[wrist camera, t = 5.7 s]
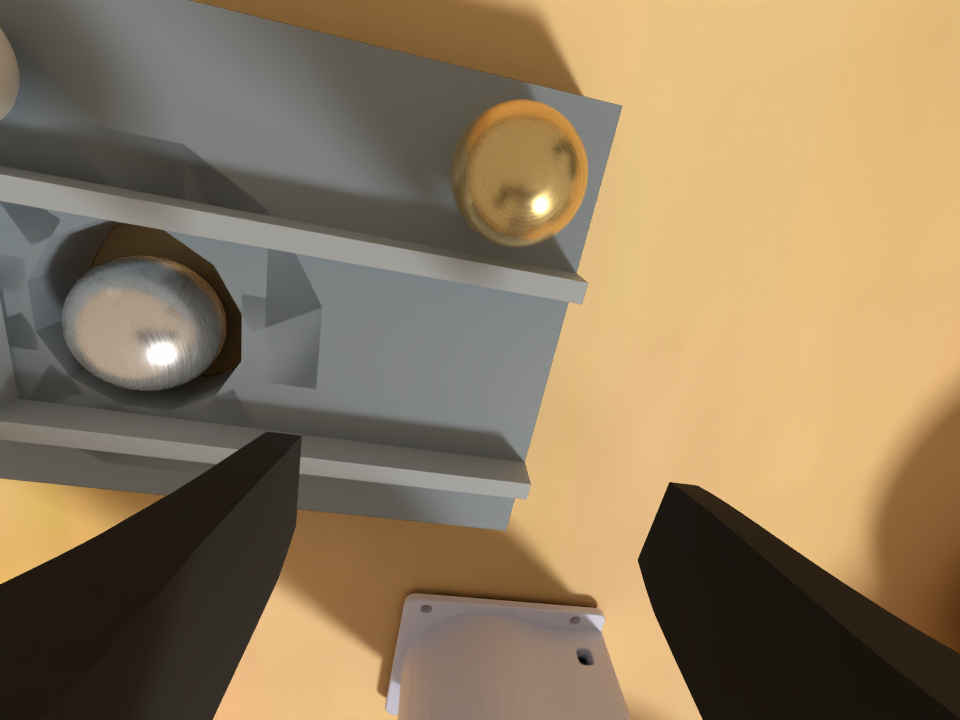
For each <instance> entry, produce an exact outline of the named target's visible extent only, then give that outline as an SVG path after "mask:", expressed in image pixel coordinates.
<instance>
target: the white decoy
mask: <svg viewBox="0 0 960 720" xmlns="http://www.w3.org/2000/svg"><path fill="white" fill-rule="evenodd" d="M19 85H20V76H19V68H18V63H17V60H16V57H15V54H14V51H13V49H12V47H11V44H10V43H9V41H8V39H7V37H6V35H5V34H4V32H3V30H2V29H1V27H0V120H1V119H3V118H4V117H5V116H6V115H7V114H8V113H9V111H10V110H11V109H12V107H13V105H14V103H15V101H16V98H17V96H18V91H19Z"/></svg>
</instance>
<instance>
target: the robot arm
mask: <svg viewBox="0 0 960 720" xmlns="http://www.w3.org/2000/svg"><path fill="white" fill-rule="evenodd" d="M301 442H302V436H300V435H292V434H284V433H276V432H268V431H267V432H265V433H264V434H262V435H260V436H259V437H257V438H256V439H254V440H253V441H251V442H250V443H248V444H247V445H245V446H244V447H242V448H240V449H239V450H237V451H236V452H234V453H233V454H231V455H230V456H228V457H227V458H225V459H224V460H222V461H221V462H219V463H218V464H216V465H215V466H213V467H212V468H210V469H209V470H207V471H206V472H204V473H202V474H201V475H199V476H198V477H196V478H195V479H193V480H191V481H190V482H188V483H187V484H185V485H183V486H182V487H180V488H179V489H177V490H176V491H174V492H172V493H171V494H169V495H167V496H166V497H164V498H162V499H160V500H159V501H157V502H155V503H153V504H152V505H150V506H148V507H147V508H145V509H143V510H141V511H140V512H138V513H136V514H134V515H133V516H131V517H129V518H128V519H126V520H124V521H122V522H121V523H119V524H117V525H115V526H114V527H112V528H110V529H108V530H107V531H105V532H103V533H101V534H99V535H98V536H96V537H94V538H92V539H90V540H88V541H86V542H85V543H83V544H81V545H79V546H77V547H75V548H73V549H71V550H69V551H67V552H65V553H63V554H61V555H59V556H58V557H55V558H53V559H51V560H49V561H47V562H45V563H43V564H41V565H39V566H37V567H35V568H33V569H31V570H29V571H27V572H25V573H23V574H21V575H19V576H17V577H15V578H13V579H11V580H8V581H6V582H4V583H2V584H0V720H213V718H214V715H215V713H216V711H217V709H218V707H219V705H220V703H221V700H222V698H223V696H224V694H225V692H226V690H227V688H228V686H229V683H230V681H231V679H232V677H233V675H234V673H235V671H236V668H237V666H238V664H239V662H240V660H241V658H242V656H243V654H244V651H245V649H246V647H247V645H248V643H249V641H250V639H251V636H252V634H253V632H254V630H255V628H256V626H257V624H258V621H259V619H260V617H261V615H262V613H263V611H264V608H265V606H266V604H267V602H268V600H269V598H270V596H271V593H272V591H273V589H274V587H275V585H276V582H277V580H278V578H279V575H280V572H281V569H282V566H283V563H284V560H285V557H286V554H287V551H288V548H289V545H290V542H291V539H292V536H293V533H294V530H295V527H296V516H297V501H298V487H299V472H300V457H301ZM638 563H639V566H640V570H641V573H642V576H643V580H644V583H645V587H646V590H647V593H648V596H649V599H650V602H651V605H652V608H653V611H654V613H655V616H656V618H657V620H658V623H659V625H660V627H661V629H662V632H663V634H664V636H665V638H666V640H667V643H668V645H669V647H670V649H671V652H672V654H673V656H674V658H675V660H676V663H677V665H678V667H679V669H680V671H681V673H682V676H683V678H684V680H685V682H686V684H687V686H688V689H689V691H690V693H691V695H692V697H693V699H694V702H695V704H696V706H697V708H698V710H699V713H700V715H701V717H702V719H703V720H960V654H958V653H957V652H955V651H953V650H951V649H950V648H948V647H946V646H945V645H943V644H941V643H939V642H938V641H936V640H934V639H933V638H931V637H929V636H927V635H926V634H924V633H922V632H921V631H919V630H917V629H915V628H914V627H912V626H911V625H909V624H907V623H906V622H904V621H902V620H901V619H899V618H897V617H896V616H894V615H893V614H891V613H889V612H888V611H886V610H885V609H883V608H882V607H880V606H878V605H877V604H875V603H874V602H872V601H871V600H869V599H868V598H866V597H864V596H863V595H861V594H860V593H858V592H857V591H855V590H854V589H852V588H851V587H849V586H847V585H846V584H844V583H843V582H841V581H840V580H838V579H837V578H835V577H834V576H832V575H831V574H829V573H828V572H826V571H825V570H823V569H822V568H820V567H819V566H817V565H816V564H814V563H813V562H812V561H810V560H809V559H807V558H806V557H804V556H803V555H801V554H800V553H798V552H797V551H796V550H794V549H793V548H791V547H790V546H788V545H787V544H785V543H784V542H783V541H781V540H780V539H778V538H777V537H775V536H774V535H772V534H771V533H770V532H768V531H767V530H765V529H764V528H762V527H761V526H759V525H758V524H757V523H755V522H754V521H752V520H751V519H749V518H748V517H746V516H745V515H743V514H742V513H741V512H739V511H738V510H736V509H735V508H733V507H732V506H730V505H729V504H727V503H726V502H724V501H722V500H721V499H719V498H718V497H716V496H714V495H713V494H711V493H710V492H708V491H706V490H704V489H702V488H701V487H699V486H696V485H688V484H680V483H672V482H669V485H668V487H667V490H666V492H665V495H664V497H663V499H662V502H661V504H660V507H659V509H658V512H657V514H656V517H655V519H654V521H653V524H652V526H651V529H650V531H649V534H648V536H647V539H646V541H645V543H644V546H643V548H642V551H641V553H640V556H639V558H638ZM425 605H427V606H425ZM604 623H605V617H604V614H603V612H602V610H600V609H598V608H590V607H578V606H566V605H554V604H542V603H529V602H517V601H505V600H493V599H481V598H469V597H456V596H444V595H432V594H420V593H413V594H410V595H408V596H407V597H406V598H405V601H404V606H403V611H402V617H401V622H400V627H399V633H398V638H397V643H396V649H395V654H394V660H393V665H392V670H391V676H390V681H389V686H388V692H387V697H386V704H385V710H386V711H387V712H388V713H389V714H393V715H398V720H631V718H630V715H629V712H628V709H627V706H626V703H625V700H624V697H623V694H622V692H621V689H620V686H619V683H618V680H617V677H616V674H615V671H614V668H613V665H612V662H611V659H610V656H609V653H608V650H607V647H606V644H605V642H604V639H603V636H602V633H601V630H602V628H603V625H604Z"/></svg>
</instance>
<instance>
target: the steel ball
mask: <svg viewBox="0 0 960 720" xmlns="http://www.w3.org/2000/svg"><path fill="white" fill-rule="evenodd" d="M61 321H62V331H63V335H64V338H65V341H66V344H67V346H68V348H69V350H70V351H71V353H72V354H73V356H74V357H75V358H76V360H77V361H78V362H79V363H80V364H81V365H82V366H83V367H84V368H85V369H87V370H88V371H89V372H90V373H92V374H93V375H95V376H96V377H98V378H100V379H102V380H104V381H106V382H108V383H110V384H113V385H116V386H119V387H122V388H127V389H132V390H143V391H153V390H163V389H168V388H172V387H176V386H179V385H182V384H184V383H187V382H189V381H191V380H192V379H194V378H196V377H198V376H199V375H200V374H202V373H203V372H204V371H206V370H207V369H208V368H209V367H210V366H211V365H212V363H213V362H214V361H215V359H216V358H217V357H218V355H219V353H220V351H221V349H222V347H223V344H224V341H225V337H226V330H227V323H226V315H225V311H224V308H223V305H222V303H221V301H220V299H219V297H218V295H217V294H216V292H215V291H214V289H213V288H212V287H211V286H210V284H209V283H208V282H207V281H205V280H204V279H203V278H202V277H201V276H200V275H198V274H197V273H196V272H194V271H192V270H191V269H189V268H187V267H186V266H183V265H181V264H179V263H177V262H174V261H171V260H168V259H163V258H158V257H153V256H128V257H122V258H117V259H114V260H111V261H108V262H105V263H103V264H101V265H98V266H96V267H94V268H93V269H91V270H90V271H88V272H87V273H86V274H85V275H84V276H82V277H81V278H80V279H79V280H78V281H77V282H76V283H75V285H74V286H73V287H72V288H71V290H70V292H69V294H68V296H67V297H66V300H65V303H64V306H63V310H62V318H61Z"/></svg>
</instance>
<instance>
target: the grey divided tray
mask: <svg viewBox="0 0 960 720" xmlns="http://www.w3.org/2000/svg"><path fill="white" fill-rule="evenodd" d="M0 27H1V29H2V30H3V32H4V34H5V35H6V37H7V39H8V41H9V43H10V44H11V47H12V49H13V51H14V54H15V57H16V60H17V63H18V68H19V76H20V85H19V91H18V96H17V98H16V101H15V103H14V105H13V107H12V109H11V110H10V111H9V113H8V114H7V115H6V116H5V117H4V118H3V119H1V120H0V478H2V479H12V480H21V481H31V482H41V483H50V484H60V485H70V486H79V487H89V488H99V489H108V490H118V491H127V492H137V493H147V494H156V495H166V496H167V495H169V494H171V493H172V492H174V491H176V490H177V489H179V488H180V487H182V486H183V485H185V484H187V483H188V482H190V481H191V480H193V479H195V478H196V477H198V476H199V475H201V474H202V473H204V472H206V471H207V470H209V469H210V468H212V467H213V466H215V465H216V464H218V463H219V462H221V461H222V460H224V459H225V458H227V457H228V456H230V455H231V454H233V453H234V452H236V451H237V450H239V449H240V448H242V447H244V446H245V445H247V444H248V443H250V442H251V441H253V440H254V439H256V438H257V437H259V436H260V435H262V434H264V433H265V432H267V431H268V432H276V433H284V434H292V435H300V436H302V442H301V457H300V472H299V487H298V501H297V509H301V510H311V511H320V512H330V513H340V514H349V515H359V516H369V517H378V518H388V519H398V520H407V521H417V522H426V523H436V524H446V525H455V526H465V527H475V528H484V529H494V530H504V531H506V529H507V525H508V522H509V518H510V514H511V511H512V507H513V503H514V500H515V498H518V499H527V496H528V492H529V489H530V485H531V483H530V480H529V476H528V472H527V469H526V465H525V460H526V456H527V452H528V449H529V445H530V441H531V438H532V434H533V430H534V427H535V423H536V419H537V416H538V412H539V408H540V405H541V401H542V397H543V394H544V390H545V386H546V383H547V379H548V376H549V372H550V368H551V365H552V361H553V357H554V354H555V350H556V346H557V343H558V339H559V335H560V332H561V328H562V324H563V321H564V317H565V313H566V310H567V306H568V303H569V302H572V303H577V304H582V303H583V300H584V296H585V293H586V289H587V286H588V282H586V281H585V280H584V279H583V278H581V277H580V276H579V275H578V274H576V273H577V270H578V266H579V262H580V259H581V255H582V251H583V248H584V244H585V240H586V237H587V233H588V229H589V226H590V222H591V219H592V215H593V211H594V208H595V204H596V200H597V197H598V193H599V189H600V186H601V182H602V178H603V175H604V171H605V167H606V164H607V160H608V156H609V153H610V149H611V146H612V142H613V138H614V135H615V131H616V127H617V124H618V120H619V116H620V113H621V109H622V106H621V105H617V104H613V103H609V102H605V101H601V100H597V99H592V98H588V97H584V96H580V95H576V94H572V93H568V92H564V91H560V90H555V89H551V88H547V87H543V86H539V85H535V84H531V83H527V82H523V81H519V80H514V79H510V78H506V77H502V76H498V75H494V74H490V73H486V72H482V71H478V70H473V69H469V68H465V67H461V66H457V65H453V64H449V63H445V62H441V61H437V60H432V59H428V58H424V57H420V56H416V55H412V54H408V53H404V52H400V51H396V50H391V49H387V48H383V47H379V46H375V45H371V44H367V43H363V42H359V41H355V40H350V39H346V38H342V37H338V36H334V35H330V34H326V33H322V32H318V31H313V30H309V29H305V28H301V27H297V26H293V25H289V24H285V23H281V22H277V21H272V20H268V19H264V18H260V17H256V16H252V15H248V14H244V13H240V12H236V11H231V10H227V9H223V8H219V7H215V6H211V5H207V4H203V3H199V2H195V1H190V0H0ZM516 99H527V100H533V101H538V102H541V103H544V104H546V105H548V106H550V107H553V108H554V109H556V110H557V111H559V112H560V113H561V114H563V115H564V116H565V117H566V118H567V119H568V120H569V121H570V122H571V123H572V125H573V126H574V127H575V129H576V130H577V132H578V134H579V135H580V137H581V139H582V142H583V144H584V147H585V151H586V154H587V160H588V182H587V187H586V192H585V195H584V198H583V201H582V203H581V205H580V207H579V209H578V211H577V213H576V214H575V216H574V217H573V218H572V220H571V221H570V222H569V224H568V225H567V226H566V227H565V228H564V229H563V230H561V231H560V232H559V233H557V234H556V235H555V236H553V237H551V238H550V239H548V240H546V241H544V242H541V243H539V244H535V245H532V246H526V247H508V246H503V245H499V244H496V243H493V242H491V241H489V240H487V239H485V238H483V237H482V236H480V235H479V234H478V233H477V232H475V231H474V230H473V229H472V228H471V227H470V226H469V225H468V224H467V223H466V221H465V220H464V219H463V217H462V216H461V214H460V212H459V210H458V208H457V206H456V204H455V201H454V198H453V194H452V189H451V183H450V170H451V161H452V157H453V153H454V150H455V147H456V144H457V142H458V140H459V138H460V136H461V135H462V133H463V132H464V130H465V129H466V127H467V126H468V125H469V124H470V123H471V122H472V120H473V119H474V118H476V117H477V116H478V115H479V114H480V113H482V112H483V111H485V110H486V109H488V108H490V107H492V106H494V105H496V104H499V103H502V102H505V101H509V100H516ZM120 223H127V224H133V225H139V226H144V227H150V228H155V229H161V230H164V231H166V232H167V233H169V234H170V235H171V236H173V237H174V238H176V239H177V240H179V241H180V242H181V243H183V244H184V245H186V246H187V247H188V248H190V249H191V250H193V251H194V252H196V253H197V254H198V255H200V256H201V257H203V258H204V259H206V260H207V261H208V262H210V263H211V264H213V265H214V266H215V268H216V270H217V272H218V273H219V275H220V277H221V279H222V280H223V282H224V284H225V286H226V287H227V289H228V291H229V293H230V294H231V296H232V298H233V300H234V301H235V303H236V305H237V307H238V308H239V310H240V312H241V314H242V345H241V362H240V364H239V365H238V366H237V368H234V369H231V370H228V371H225V372H222V373H220V374H217V375H214V376H211V377H205V376H198V377H196V378H194V379H192V380H191V381H189V382H187V383H184V384H182V385H179V386H176V387H172V388H168V389H163V390H153V391H143V390H132V389H127V388H122V387H119V386H116V385H113V384H110V383H108V382H106V381H104V380H102V379H100V378H98V377H96V376H95V375H93V374H92V373H90V372H89V371H88V370H87V369H85V368H84V367H83V366H82V365H81V364H80V363H79V362H78V361H77V360H76V358H75V357H74V356H73V354H72V353H71V351H70V350H69V348H68V346H67V344H66V341H65V338H64V335H63V331H62V321H61V318H62V310H63V306H64V303H65V300H66V297H67V296H68V294H69V292H70V290H71V288H72V287H73V286H74V285H75V283H76V282H77V281H78V280H79V279H80V278H81V277H82V276H84V275H85V274H86V273H87V272H88V271H90V270H91V269H92V261H93V259H94V258H95V256H96V254H97V252H98V251H99V249H100V247H101V246H102V244H103V242H104V241H105V239H106V237H107V236H108V234H109V232H110V231H111V229H112V227H113V226H115V225H118V224H120Z"/></svg>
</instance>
